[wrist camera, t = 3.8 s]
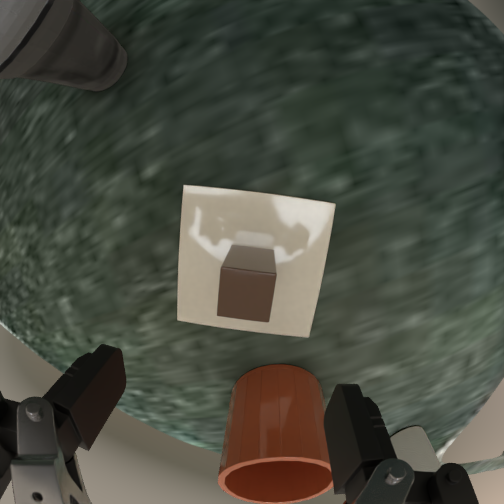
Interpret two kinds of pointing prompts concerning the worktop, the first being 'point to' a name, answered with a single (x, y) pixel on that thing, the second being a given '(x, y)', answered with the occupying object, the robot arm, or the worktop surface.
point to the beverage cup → (58, 44)
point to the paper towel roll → (415, 449)
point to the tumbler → (276, 437)
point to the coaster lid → (251, 259)
